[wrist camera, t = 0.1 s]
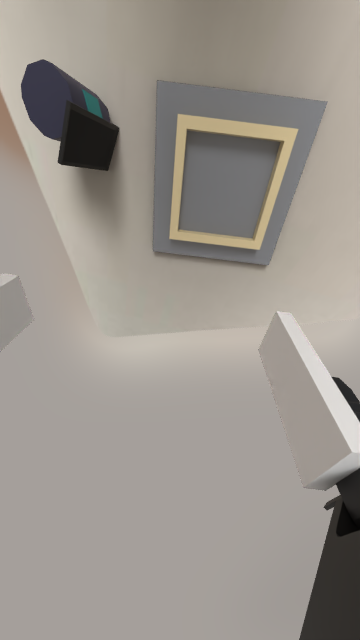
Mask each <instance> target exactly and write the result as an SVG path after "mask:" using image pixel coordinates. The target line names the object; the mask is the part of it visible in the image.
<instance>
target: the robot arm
mask: <svg viewBox="0 0 360 640" xmlns="http://www.w3.org/2000/svg"><path fill="white" fill-rule="evenodd" d="M33 320H34V318H33V315H32V312H31V309H30V306H29V303H28V301H27V298H26V295H25V292H24V290H23V287H22V284H21V281H20V278H19V276H18V275H10V274H2V275H0V352H1V351H2V350H3V349H4V348H5V347H6V346H7V345H8V344H9V343H10V342H11V341H12V340H13V339H14V338H15V337H16V336H18V334H20V333H21V332H22V331H23V330H24V329H25V328H26V327H27V326H28V325H29V324H30V323H31V322H32V321H33ZM258 350H259V353H260V357H261V360H262V363H263V365H264V369H265V372H266V375H267V378H268V381H269V384H270V387H271V390H272V393H273V396H274V399H275V402H276V405H277V409H278V412H279V414H280V418H281V420H282V424H283V427H284V430H285V433H286V436H287V439H288V442H289V445H290V448H291V451H292V454H293V457H294V460H295V463H296V466H297V469H298V472H299V476H300V479H301V482H302V485H303V487H304V488H309V489H318V490H325V491H326V490H327V489H329V488H331V487H332V486H334V485H337V488H338V490H339V492H340V494H341V495H339V496H338V497H336V498H334V499H332V500H330V501H329V502H327V503H326V505H325V506H324V508H325V509H326V510H329V509H331V508H333V507H334V510H333V514H332V517H331V521H330V525H329V529H328V532H327V536H326V540H325V544H324V548H323V551H322V555H321V559H320V563H319V567H318V570H317V574H316V578H315V582H314V586H313V589H312V593H311V597H310V601H309V605H308V609H307V612H306V616H305V620H304V624H303V627H302V631H301V635H300V639H299V640H360V402H359V400H358V399H357V397H356V396H355V394H354V393H353V391H352V390H351V389H350V388H349V387H348V386H347V385H346V384H345V383H344V382H343V381H342V380H340V379H339V378H336V377H331V376H330V374H329V373H328V371H327V369H326V368H325V366H324V365H323V363H322V361H321V360H320V358H319V357H318V355H317V354H316V352H315V350H314V349H313V347H312V346H311V344H310V342H309V341H308V339H307V338H306V336H305V334H304V333H303V331H302V330H301V328H300V327H299V325H298V323H297V322H296V320H295V319H294V317H293V315H292V314H291V313H287V312H280V311H276V313H275V315H274V317H273V319H272V321H271V323H270V326H269V328H268V330H267V332H266V334H265V336H264V339H263V341H262V343H261V345H260V347H259V349H258Z"/></svg>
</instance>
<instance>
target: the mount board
mask: <svg viewBox="0 0 360 640" xmlns="http://www.w3.org/2000/svg"><path fill="white" fill-rule="evenodd" d="M326 105H327V102H326V101H318V100H310V99H302V98H294V97H286V96H278V95H270V94H262V93H254V92H247V91H239V90H231V89H223V88H215V87H207V86H199V85H191V84H183V83H175V82H167V81H159V80H157V104H156V145H155V185H154V225H153V251H156V252H164V253H172V254H180V255H189V256H197V257H205V258H213V259H221V260H230V261H238V262H246V263H254V264H262V265H269V263H270V260H271V257H272V254H273V252H274V249H275V246H276V243H277V240H278V238H279V235H280V232H281V229H282V227H283V224H284V221H285V218H286V216H287V213H288V210H289V207H290V205H291V202H292V199H293V196H294V193H295V191H296V188H297V185H298V182H299V180H300V177H301V174H302V171H303V169H304V166H305V163H306V160H307V157H308V155H309V152H310V149H311V146H312V144H313V141H314V138H315V135H316V133H317V130H318V127H319V124H320V122H321V119H322V116H323V113H324V110H325V108H326Z"/></svg>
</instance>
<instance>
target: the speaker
mask: <svg viewBox="0 0 360 640" xmlns="http://www.w3.org/2000/svg"><path fill="white" fill-rule="evenodd" d="M21 91H22V99H23V101H24V104H25V107H26V110H27V112H28V115H29V118H30V120H31V121H32V123H33V124H34V125H35V126H36V127H37V128H38V129H39V130H40V131H41V132H42V134H43V135H44V136H46V137H49V138H51V139H54V140H57V141H61V143H60V150H59V157H58V163H59V164H61V165H67V166H75V167H83V168H90V169H98V170H106V171H108V169H109V165H110V161H111V157H112V153H113V150H114V146H115V142H116V138H117V134H118V131H119V127H117V126H116V125H114V124H112V123H111V122H110V118H109V113H108V109H107V107H106V106H105V105H104V104H103V102H102V101H101V100H100V99H99V97H98V96H97V95H96V94H95V93H93V92H92V91H90V90H89V89H88V88H86V87H85V86H83V85H82V84H80V83H79V82H78V81H76V80H75V79H73V78H72V77H71V76H69V75H68V74H66V73H65V72H64V71H62V70H61V69H59V68H58V67H57V66H55V65H54V64H52V63H50V62H48V61H46V60H43V59H42V60H40V61H37V62H34V63H31V64H29V65H27V68H26V71H25V74H24V77H23V80H22V83H21Z"/></svg>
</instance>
